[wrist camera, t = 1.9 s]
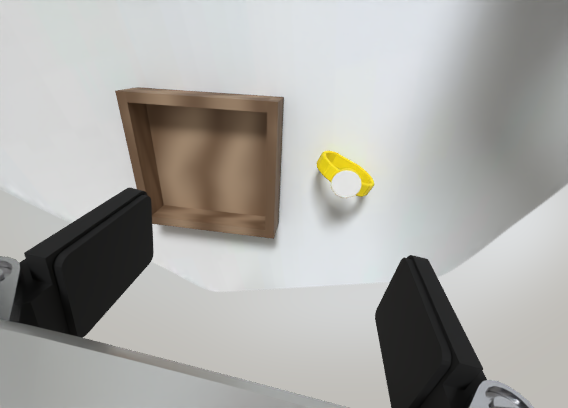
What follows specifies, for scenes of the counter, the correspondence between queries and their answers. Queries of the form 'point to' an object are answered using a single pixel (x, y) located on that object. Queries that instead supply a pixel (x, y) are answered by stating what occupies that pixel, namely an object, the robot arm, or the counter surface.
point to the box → (206, 157)
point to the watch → (344, 175)
